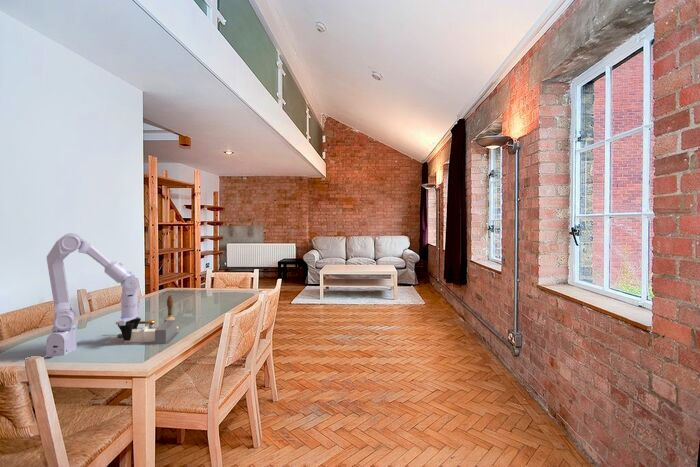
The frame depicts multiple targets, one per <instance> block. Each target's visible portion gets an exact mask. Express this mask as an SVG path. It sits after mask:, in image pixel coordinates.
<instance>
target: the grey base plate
mask: <svg viewBox="0 0 700 467" xmlns="http://www.w3.org/2000/svg"><path fill="white" fill-rule="evenodd" d="M148 325H149V326H148V329H156V330H155V342H128V343H124V339H123V338H118V334H117V335H115V337H113V338H111V339H110V340H108V341H107V342H105V343H104V344H103V345H102V347H104V346H106V347H107V346H109V347H110V346H138V345H139V346H140V345H167V344H170V343H171V342H172V341H173V340H174V339H175V338H176V337H177V335H179V334H180V332H179V331H178V329H177V326H178V320H176V319H175V320H167V321H166V322H165V323H164V322H163V323H162V324H161V325H160V326H158V327H157V328H155V323H154V324H148Z"/></svg>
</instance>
